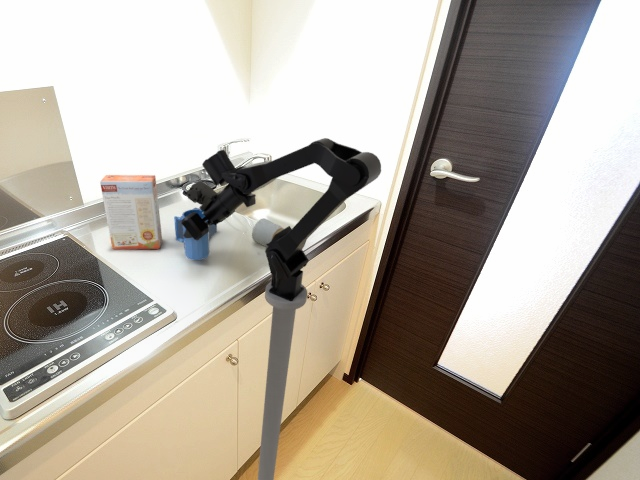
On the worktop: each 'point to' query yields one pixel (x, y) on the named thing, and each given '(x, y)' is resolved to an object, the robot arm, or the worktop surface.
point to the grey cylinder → (265, 231)
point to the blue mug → (191, 246)
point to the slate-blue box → (211, 229)
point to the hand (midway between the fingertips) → (191, 231)
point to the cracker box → (132, 211)
